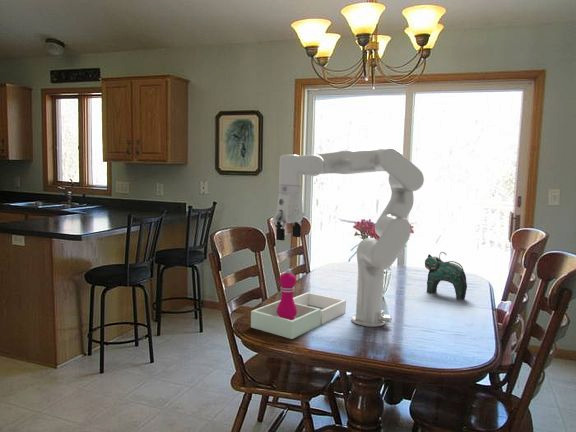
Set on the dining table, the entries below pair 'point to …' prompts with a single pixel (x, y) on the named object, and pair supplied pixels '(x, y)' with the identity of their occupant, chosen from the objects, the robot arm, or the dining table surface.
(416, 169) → the robot arm
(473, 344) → the dining table surface
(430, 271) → the ceramic cat
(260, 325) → the bin
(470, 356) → the dining table surface
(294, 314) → the pepper mill
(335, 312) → the crate
